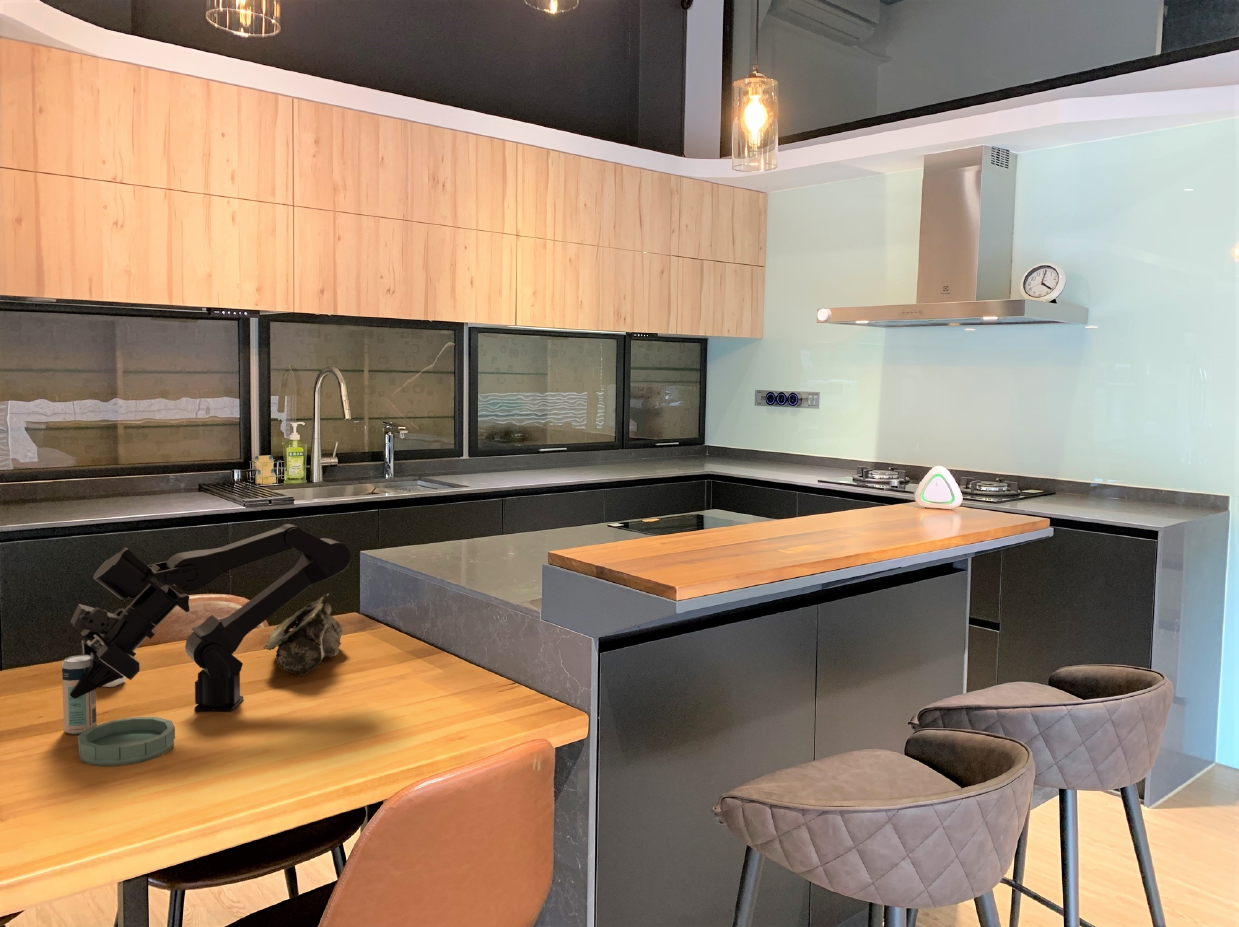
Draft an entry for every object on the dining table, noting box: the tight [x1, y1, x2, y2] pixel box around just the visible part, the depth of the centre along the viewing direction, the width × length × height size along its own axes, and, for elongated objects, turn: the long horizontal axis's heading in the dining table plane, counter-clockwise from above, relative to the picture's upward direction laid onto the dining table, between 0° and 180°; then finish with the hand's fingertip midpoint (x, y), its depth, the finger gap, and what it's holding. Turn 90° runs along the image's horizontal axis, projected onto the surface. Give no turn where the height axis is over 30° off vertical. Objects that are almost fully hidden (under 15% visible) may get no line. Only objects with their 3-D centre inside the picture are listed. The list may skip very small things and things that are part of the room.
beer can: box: [61, 654, 98, 735], centre depth 152 cm, size 5×5×12 cm
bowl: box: [77, 716, 176, 767], centre depth 145 cm, size 13×13×3 cm
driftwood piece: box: [262, 593, 344, 677], centre depth 192 cm, size 28×13×15 cm
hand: (69, 692), depth 151 cm, fingers closed on beer can, 5 cm apart
